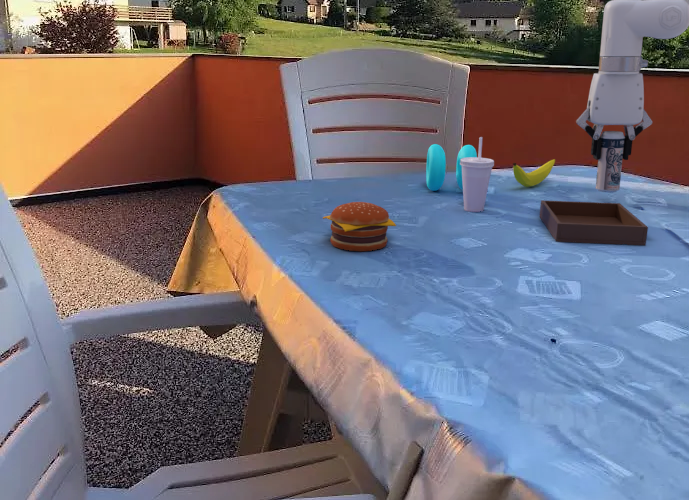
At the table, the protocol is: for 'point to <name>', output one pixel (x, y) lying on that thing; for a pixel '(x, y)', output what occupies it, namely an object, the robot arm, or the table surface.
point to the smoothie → (475, 180)
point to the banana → (532, 174)
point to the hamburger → (359, 226)
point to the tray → (592, 223)
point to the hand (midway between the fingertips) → (610, 157)
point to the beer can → (610, 161)
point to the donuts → (444, 165)
